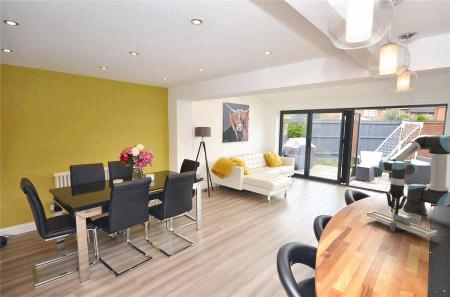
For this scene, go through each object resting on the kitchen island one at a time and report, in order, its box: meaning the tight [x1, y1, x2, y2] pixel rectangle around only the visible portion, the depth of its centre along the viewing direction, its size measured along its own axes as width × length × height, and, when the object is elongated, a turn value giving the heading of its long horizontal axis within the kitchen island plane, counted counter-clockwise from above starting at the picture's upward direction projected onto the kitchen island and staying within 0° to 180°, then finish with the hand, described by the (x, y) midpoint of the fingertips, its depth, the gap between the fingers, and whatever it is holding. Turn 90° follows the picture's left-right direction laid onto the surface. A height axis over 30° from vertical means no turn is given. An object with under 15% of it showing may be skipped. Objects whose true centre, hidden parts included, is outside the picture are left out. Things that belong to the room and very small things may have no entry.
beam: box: [366, 209, 438, 239], centre depth 152 cm, size 12×36×2 cm, turn 27°
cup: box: [404, 212, 422, 226], centre depth 158 cm, size 7×10×9 cm
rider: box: [393, 212, 411, 226], centre depth 151 cm, size 4×8×6 cm, turn 27°
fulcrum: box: [389, 222, 403, 234], centre depth 153 cm, size 15×3×6 cm, turn 117°
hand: (394, 217), depth 155 cm, fingers closed
